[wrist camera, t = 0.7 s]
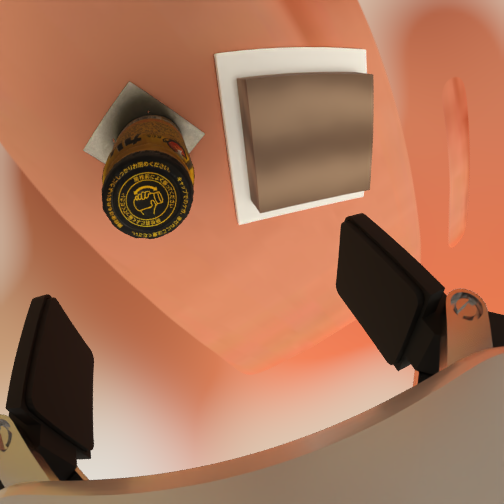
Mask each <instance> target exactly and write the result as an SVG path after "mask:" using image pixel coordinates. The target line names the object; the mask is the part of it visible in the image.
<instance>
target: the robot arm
mask: <svg viewBox="0 0 504 504" xmlns="http://www.w3.org/2000/svg"><path fill="white" fill-rule="evenodd" d="M336 289H337V292H338V294H339V295H340V297H341V298H342V299H343V301H344V302H345V303H346V305H347V306H348V308H349V309H350V310H351V312H352V313H353V314H354V316H355V317H356V319H357V320H358V321H359V323H360V324H361V325H362V327H363V328H364V330H365V331H366V332H367V334H368V335H369V337H370V338H371V340H372V341H373V342H374V344H375V345H376V347H377V348H378V350H379V351H380V352H381V354H382V355H383V357H384V358H385V360H386V361H387V362H388V363H389V364H390V365H394V366H395V368H396V369H397V370H398V371H399V370H401V369H403V368H405V367H407V366H409V365H410V364H411V365H412V366H413V367H414V369H415V373H414V381H413V387H412V388H410V389H408V390H406V391H404V392H402V393H401V394H399V395H397V396H395V397H393V398H391V399H389V400H387V401H386V402H383V403H382V404H379V405H377V406H375V407H373V408H371V409H369V410H367V411H365V412H363V413H361V414H359V415H356V416H354V417H352V418H350V419H347V420H345V421H343V422H341V423H338V424H336V425H333V426H331V427H329V428H326V429H324V430H321V431H319V432H316V433H313V434H311V435H308V436H305V437H303V438H300V439H297V440H294V441H292V442H289V443H286V444H283V445H280V446H277V447H274V448H271V449H268V450H264V451H261V452H257V453H254V454H250V455H247V456H243V457H239V458H236V459H232V460H228V461H224V462H220V463H215V464H211V465H206V466H201V467H196V468H192V469H186V470H180V471H175V472H169V473H162V474H155V475H148V476H139V477H129V478H117V479H102V480H89V479H88V478H87V477H86V476H85V475H84V474H83V472H82V471H81V470H80V469H79V468H78V467H77V459H91V452H90V450H92V449H93V447H94V440H93V368H94V358H93V354H92V351H91V350H90V348H89V347H88V346H87V344H86V343H85V341H84V340H83V339H82V337H81V336H80V334H79V333H78V331H77V330H76V328H75V327H74V325H73V324H72V322H71V321H70V320H69V318H68V316H67V315H66V313H65V312H64V310H63V309H62V307H61V305H60V304H59V302H58V301H57V299H56V298H52V297H51V296H50V295H43V296H40V297H36V298H34V299H32V301H31V304H30V308H29V311H28V314H27V317H26V320H25V324H24V327H23V330H22V334H21V338H20V342H19V345H18V349H17V353H16V357H15V362H14V366H13V370H12V375H11V380H10V386H9V391H8V397H7V403H6V409H7V410H8V411H9V417H8V416H6V415H1V414H0V504H504V315H501V314H496V313H493V312H488V310H487V307H486V304H485V302H484V301H483V299H482V298H481V297H480V296H478V295H477V294H475V293H474V292H472V291H470V290H467V289H455V290H452V291H451V292H449V294H448V295H446V294H445V293H444V289H445V288H444V287H443V286H442V285H441V284H440V283H439V282H438V281H437V280H436V279H435V278H434V277H433V276H432V275H431V274H430V273H429V272H428V271H427V270H426V269H425V268H424V267H423V266H422V265H421V264H420V263H419V262H418V261H417V260H416V259H415V258H413V257H412V256H411V255H410V254H409V253H408V252H407V251H406V250H405V249H404V248H403V247H402V246H400V245H399V244H398V243H397V242H396V241H395V240H394V239H393V238H392V237H390V236H389V235H388V234H387V233H386V232H385V231H384V230H382V229H381V228H380V227H379V226H378V225H377V224H376V223H374V222H373V221H372V220H371V219H370V218H368V217H367V216H366V215H365V214H363V213H361V214H356V215H352V216H348V217H346V219H345V222H343V223H342V224H341V232H340V245H339V258H338V269H337V279H336Z"/></svg>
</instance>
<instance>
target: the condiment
mask: <svg viewBox="0 0 504 504" xmlns="http://www.w3.org/2000/svg"><path fill="white" fill-rule="evenodd" d="M148 111H150V112H149V113H148ZM204 135H205V133H203V132H202V131H200V130H199V129H198V128H196V127H195V126H194V125H192V124H191V123H189V122H188V121H187V120H185V119H184V118H182V117H181V116H180V115H178V114H177V113H175V112H174V111H173V110H171V109H170V108H168V107H167V106H165V105H164V104H162V103H161V102H159V101H158V100H157V99H155V98H154V97H152V96H151V95H149V94H148V93H146V92H145V91H143V90H142V89H140V88H139V87H137V86H136V85H134V84H133V83H131V82H130V81H129V83H128V84H127V85H126V86H125V88H124V89H123V91H122V92H121V93H120V95H119V96H118V98H117V99H116V100H115V102H114V103H113V105H112V106H111V108H110V109H109V111H108V112H107V113H106V115H105V116H104V118H103V119H102V121H101V122H100V124H99V126H98V127H97V129H96V130H95V132H94V133H93V135H92V137H91V138H90V140H89V142H88V143H87V145H86V146H85V148H84V150H83V151H85V152H87V153H88V154H90V155H91V156H93V157H95V158H97V159H98V160H99V161H101V162H103V163H105V167H104V170H103V176H102V182H103V187H102V202H103V210H104V212H105V213H106V215H107V216H108V218H109V220H110V221H111V222H112V224H113V225H114V226H115V227H116V228H117V229H119V230H120V231H122V232H124V233H125V234H128V235H130V236H132V237H135V238H148V239H154V238H158V237H161V236H163V235H165V234H168V233H170V232H171V231H173V230H174V229H175V228H177V227H178V225H180V224H181V223H182V221H183V220H184V219H185V218H186V217H187V215H188V214H189V211H190V208H191V204H192V202H193V193H194V190H193V186H194V176H195V175H194V167H193V164H192V161H191V159H190V156H189V153H190V152H191V151H192V149H193V148H194V147H195V146H196V144H197V143H198V142H199V141H200V140H201V138H202V137H203V136H204ZM113 139H114V140H115V143H113Z"/></svg>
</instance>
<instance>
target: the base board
mask: <svg viewBox="0 0 504 504" xmlns="http://www.w3.org/2000/svg"><path fill="white" fill-rule="evenodd" d="M214 58H215V66H216V73H217V81H218V88H219V96H220V103H221V110H222V118H223V125H224V132H225V139H226V147H227V154H228V161H229V168H230V175H231V182H232V189H233V196H234V203H235V210H236V217H237V222H238V224H239V225H241V224H246V223H250V222H254V221H258V220H262V219H266V218H271V217H275V216H279V215H283V214H288V213H292V212H296V211H301V210H305V209H309V208H314V207H318V206H323V205H327V204H332V203H336V202H341V201H345V200H350V199H355V198H359V197H364V191H361V192H356V193H351V194H346V195H341V196H337V197H332V198H327V199H322V200H318V201H313V202H309V203H304V204H300V205H295V206H291V207H286V208H282V209H277V210H273V211H269V212H264V213H260V212H259V211H258V210H257V208H256V207H255V205H254V204H253V202H252V201H251V198H250V189H249V180H248V172H247V163H246V155H245V146H244V138H243V129H242V121H241V112H240V104H239V96H238V87H237V79H236V78H242V77H251V76H260V75H271V74H284V73H302V72H359V73H366V74H367V63H366V50H364V49H351V48H329V47H289V48H267V49H253V50H242V51H232V52H224V53H216V54H214Z"/></svg>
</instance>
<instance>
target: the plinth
mask: <svg viewBox="0 0 504 504" xmlns="http://www.w3.org/2000/svg"><path fill="white" fill-rule="evenodd" d="M236 79H237V87H238V96H239V104H240V112H241V121H242V129H243V138H244V146H245V155H246V163H247V172H248V180H249V189H250V198H251V201H252V202H253V204H254V205H255V207H256V208H257V210H258V211H259V212H260V213H264V212H269V211H273V210H277V209H282V208H286V207H291V206H295V205H300V204H304V203H309V202H313V201H318V200H322V199H327V198H332V197H337V196H341V195H346V194H351V193H356V192H361V191H366V190H370V178H371V163H372V144H373V75H372V74H366V73H359V72H302V73H284V74H271V75H260V76H251V77H242V78H236Z"/></svg>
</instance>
